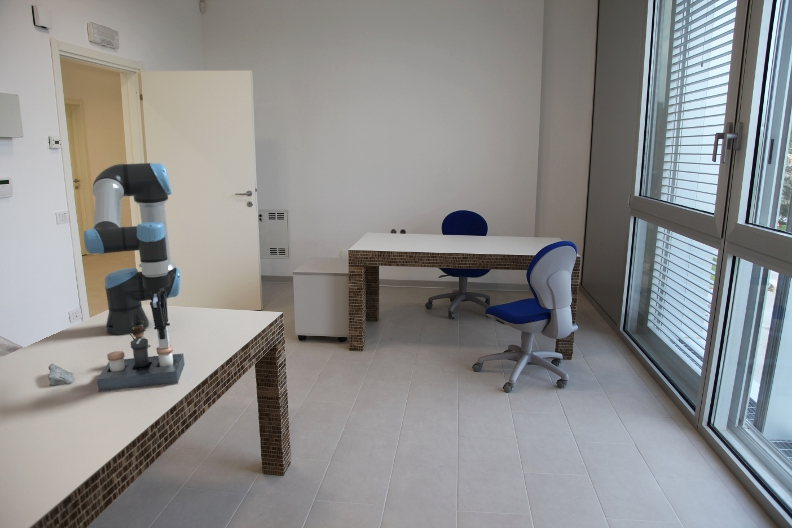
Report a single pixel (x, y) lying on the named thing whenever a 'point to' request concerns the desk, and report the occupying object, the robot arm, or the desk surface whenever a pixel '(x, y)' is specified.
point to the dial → (140, 352)
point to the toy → (138, 332)
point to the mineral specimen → (59, 375)
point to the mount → (141, 374)
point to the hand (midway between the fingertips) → (164, 347)
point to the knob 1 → (116, 361)
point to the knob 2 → (165, 356)
